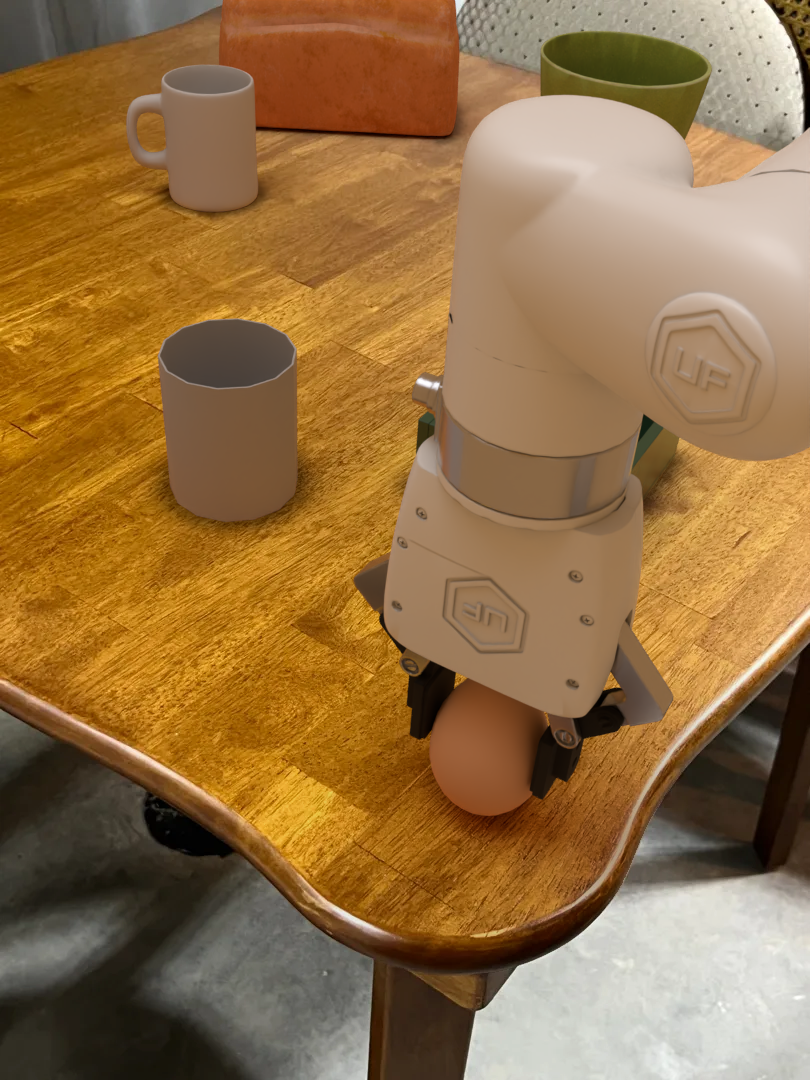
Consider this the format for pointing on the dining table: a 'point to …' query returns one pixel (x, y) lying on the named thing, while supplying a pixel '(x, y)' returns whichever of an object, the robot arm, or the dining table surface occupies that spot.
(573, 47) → the flower pot
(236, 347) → the cup
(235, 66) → the bread
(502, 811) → the egg
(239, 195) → the mug
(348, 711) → the dining table surface
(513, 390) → the robot arm
